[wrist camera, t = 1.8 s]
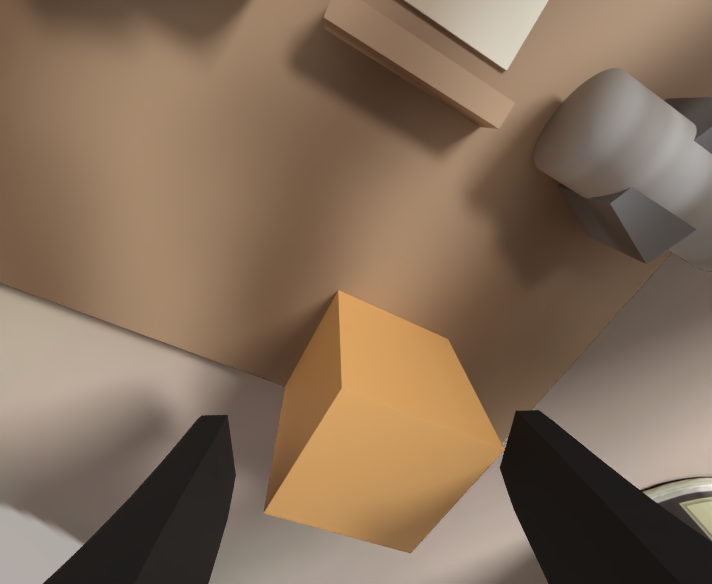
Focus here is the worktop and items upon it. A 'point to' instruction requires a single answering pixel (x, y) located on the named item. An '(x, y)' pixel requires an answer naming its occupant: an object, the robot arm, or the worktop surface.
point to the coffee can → (687, 502)
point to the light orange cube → (377, 430)
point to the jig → (356, 170)
